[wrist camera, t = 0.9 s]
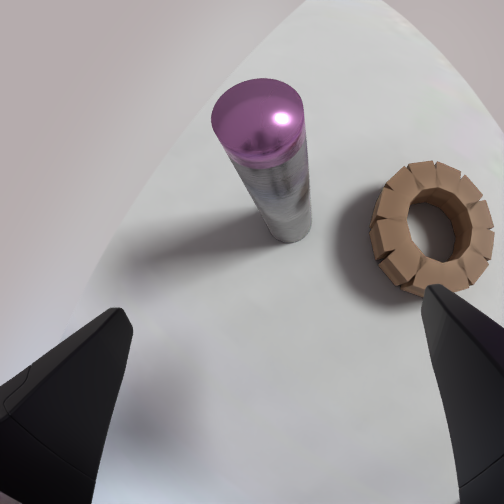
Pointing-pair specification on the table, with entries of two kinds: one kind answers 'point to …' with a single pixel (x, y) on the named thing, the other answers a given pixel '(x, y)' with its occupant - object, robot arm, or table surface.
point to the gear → (455, 208)
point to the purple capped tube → (268, 151)
